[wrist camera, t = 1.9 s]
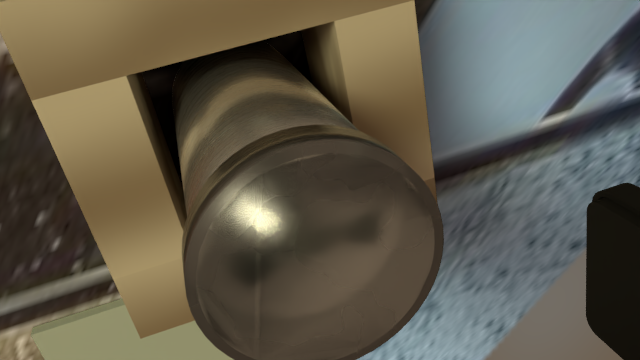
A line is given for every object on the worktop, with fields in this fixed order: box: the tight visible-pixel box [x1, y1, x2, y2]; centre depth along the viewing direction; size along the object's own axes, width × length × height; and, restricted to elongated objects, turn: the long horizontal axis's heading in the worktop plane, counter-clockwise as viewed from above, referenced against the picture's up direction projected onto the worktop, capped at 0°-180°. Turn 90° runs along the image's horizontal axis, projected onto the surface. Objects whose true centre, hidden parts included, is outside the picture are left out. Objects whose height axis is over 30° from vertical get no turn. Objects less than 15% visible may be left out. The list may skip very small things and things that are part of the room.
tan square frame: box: [0, 0, 438, 339], centre depth 19 cm, size 11×11×5 cm
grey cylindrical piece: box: [172, 40, 444, 360], centre depth 16 cm, size 5×5×12 cm
